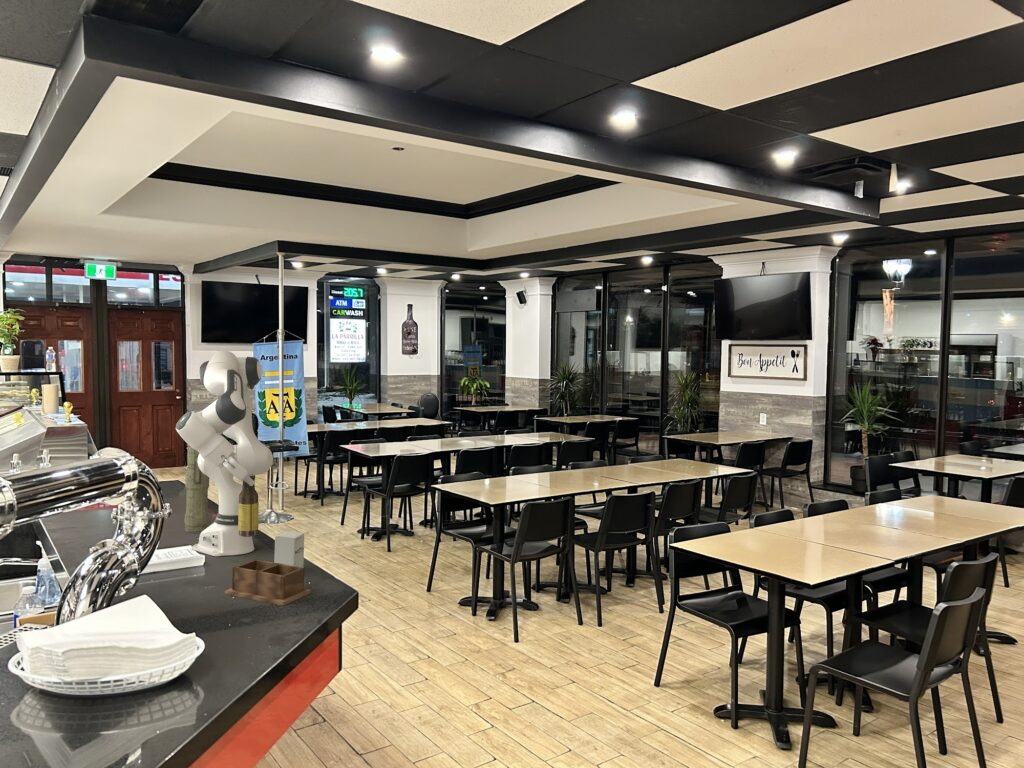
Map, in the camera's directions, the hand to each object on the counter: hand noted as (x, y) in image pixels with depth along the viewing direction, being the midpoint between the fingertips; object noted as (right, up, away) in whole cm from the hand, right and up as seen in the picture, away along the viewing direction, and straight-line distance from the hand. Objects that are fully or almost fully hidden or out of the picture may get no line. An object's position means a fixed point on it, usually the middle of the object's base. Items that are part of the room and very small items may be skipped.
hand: (251, 482), depth 239 cm
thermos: (-43, -27, +57) cm, 76 cm away
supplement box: (+9, -31, +10) cm, 34 cm away
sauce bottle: (-1, -17, 0) cm, 17 cm away
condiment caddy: (+10, -32, -13) cm, 36 cm away
